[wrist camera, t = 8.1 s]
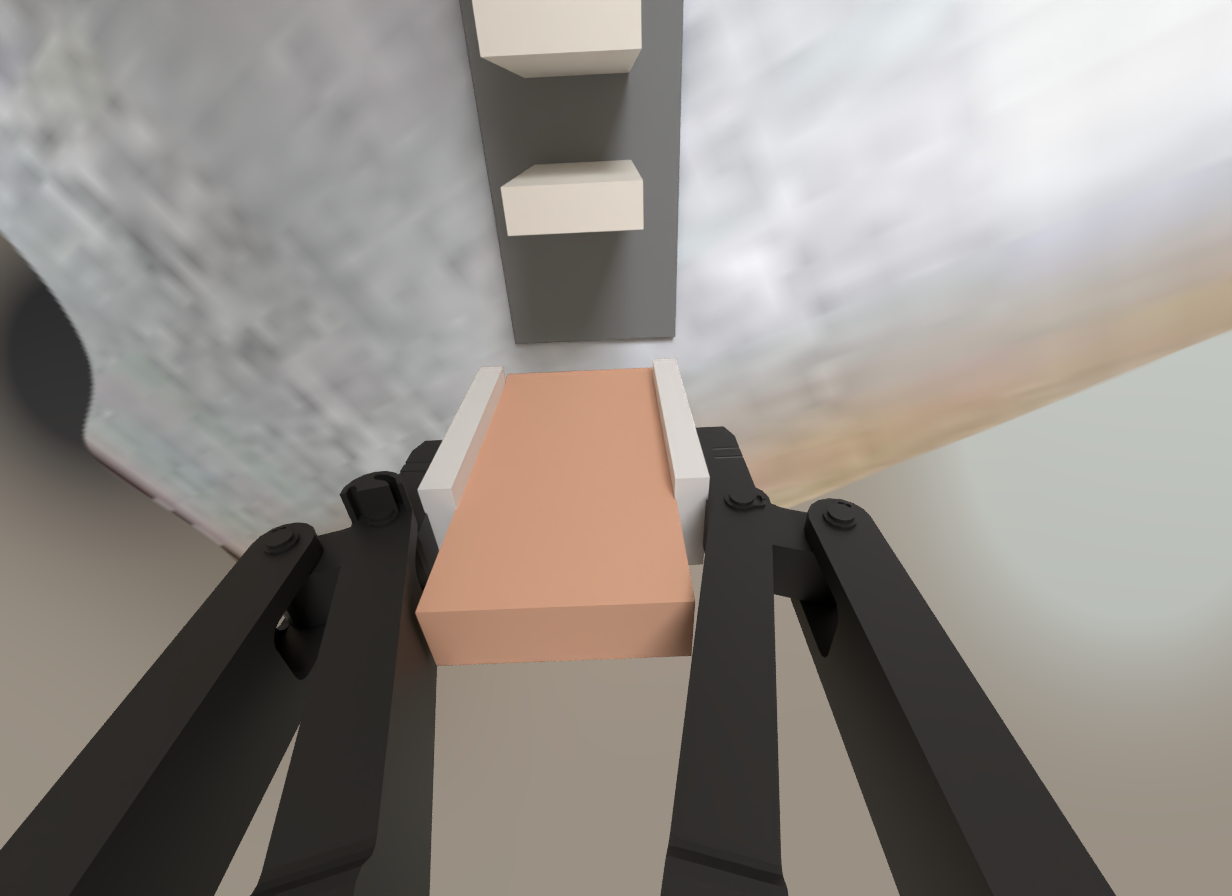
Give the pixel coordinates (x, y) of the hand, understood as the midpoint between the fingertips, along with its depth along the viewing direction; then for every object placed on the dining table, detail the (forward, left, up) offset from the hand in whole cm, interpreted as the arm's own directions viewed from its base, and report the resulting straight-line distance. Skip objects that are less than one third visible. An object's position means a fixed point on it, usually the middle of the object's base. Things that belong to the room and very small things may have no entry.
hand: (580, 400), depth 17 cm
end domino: (0, 0, -1) cm, 1 cm away
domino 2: (-5, 0, -15) cm, 16 cm away
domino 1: (-11, 0, -15) cm, 18 cm away
